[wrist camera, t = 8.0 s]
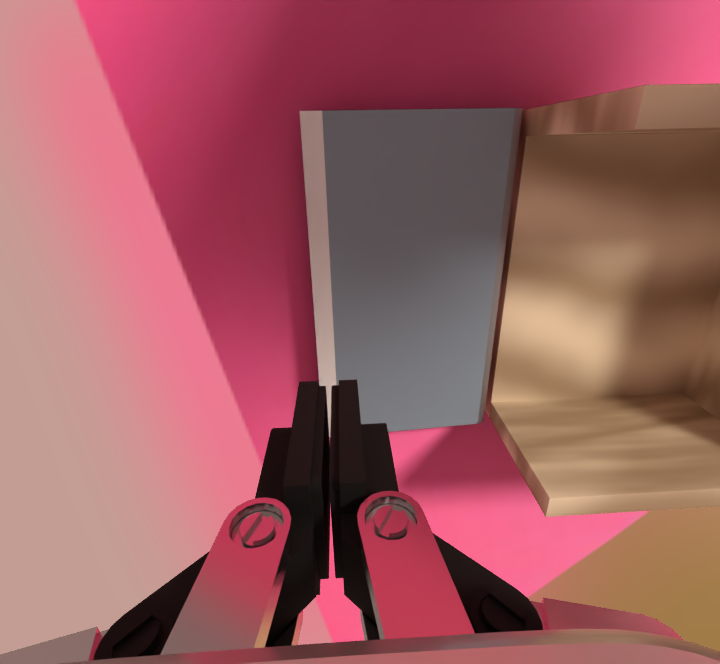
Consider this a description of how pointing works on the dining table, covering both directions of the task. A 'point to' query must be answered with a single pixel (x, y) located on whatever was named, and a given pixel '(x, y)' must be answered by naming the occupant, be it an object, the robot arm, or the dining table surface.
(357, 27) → the dining table surface
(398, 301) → the panel
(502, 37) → the dining table surface
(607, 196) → the crate
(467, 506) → the dining table surface
